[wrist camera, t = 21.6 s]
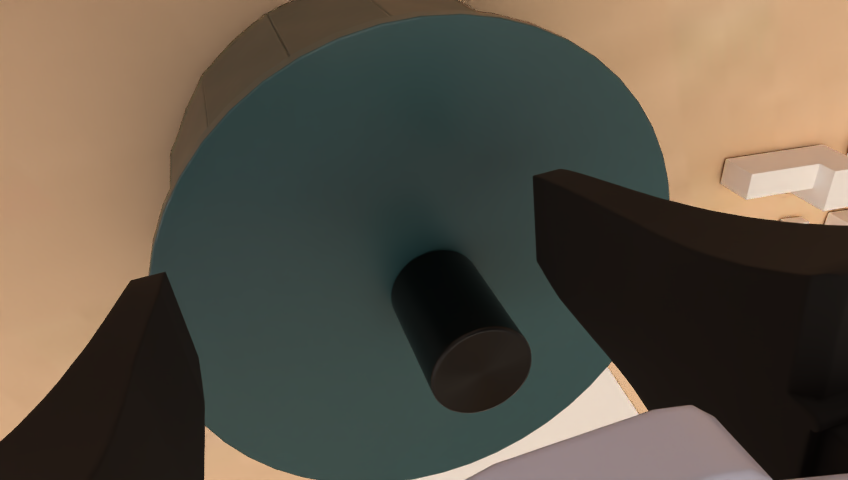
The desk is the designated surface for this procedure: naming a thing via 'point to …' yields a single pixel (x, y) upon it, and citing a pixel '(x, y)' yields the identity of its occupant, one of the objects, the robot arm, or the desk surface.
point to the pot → (278, 53)
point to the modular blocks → (794, 178)
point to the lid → (393, 243)
